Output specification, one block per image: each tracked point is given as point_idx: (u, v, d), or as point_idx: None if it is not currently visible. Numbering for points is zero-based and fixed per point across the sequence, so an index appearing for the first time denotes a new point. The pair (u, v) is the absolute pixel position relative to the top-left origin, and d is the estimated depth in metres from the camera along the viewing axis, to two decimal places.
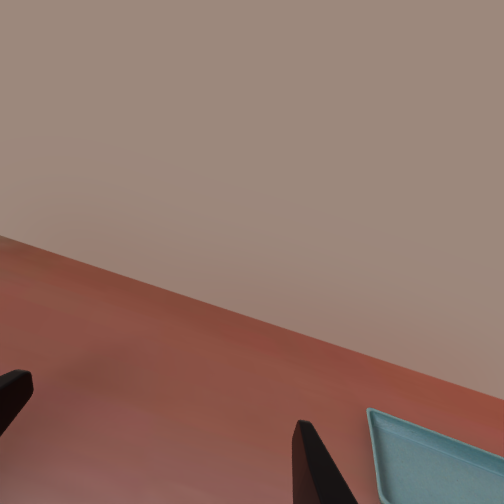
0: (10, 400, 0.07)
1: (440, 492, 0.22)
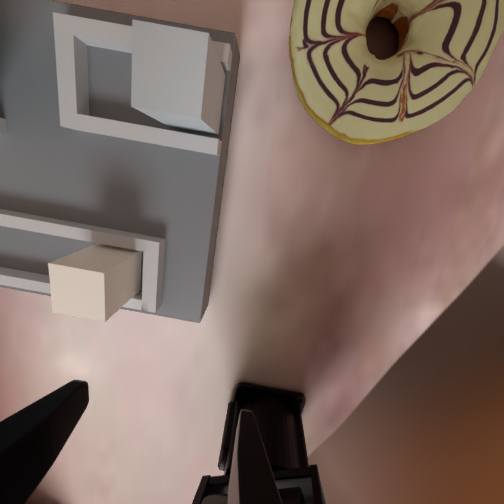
0: (72, 411, 0.07)
1: None
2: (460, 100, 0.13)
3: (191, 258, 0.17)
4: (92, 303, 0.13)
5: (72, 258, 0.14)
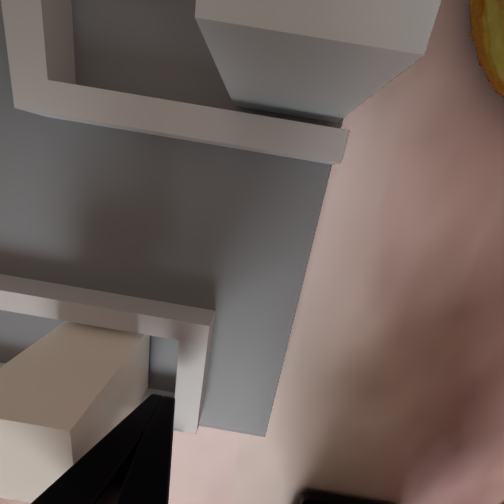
0: None
1: None
2: None
3: (259, 342, 0.09)
4: (49, 481, 0.06)
5: (8, 377, 0.06)
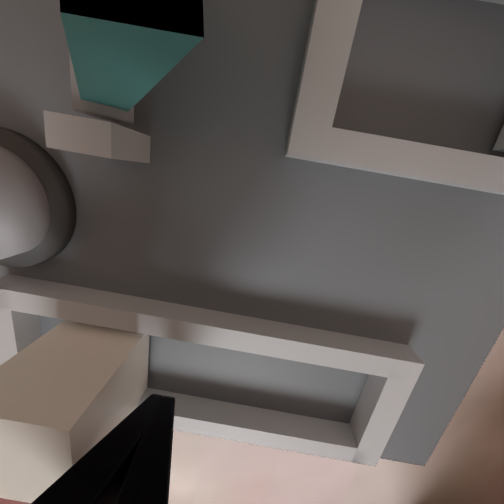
0: None
1: None
2: None
3: (445, 375, 0.09)
4: (47, 481, 0.06)
5: (7, 376, 0.06)
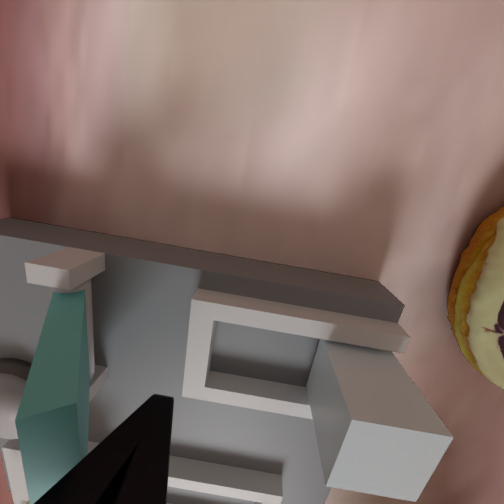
0: None
1: None
2: None
3: (309, 492, 0.14)
4: None
5: None
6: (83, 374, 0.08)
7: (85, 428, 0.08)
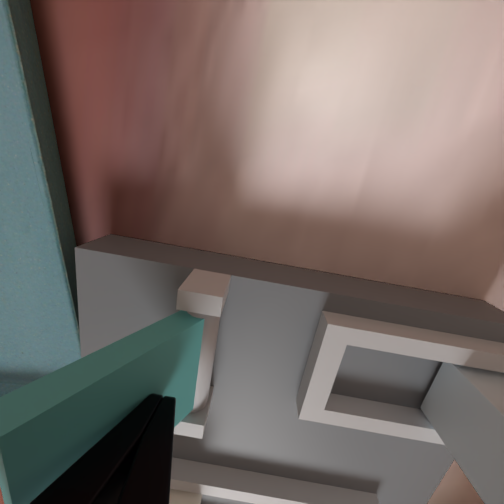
0: None
1: (33, 315, 0.14)
2: None
3: None
4: None
5: None
6: (121, 405, 0.07)
7: None
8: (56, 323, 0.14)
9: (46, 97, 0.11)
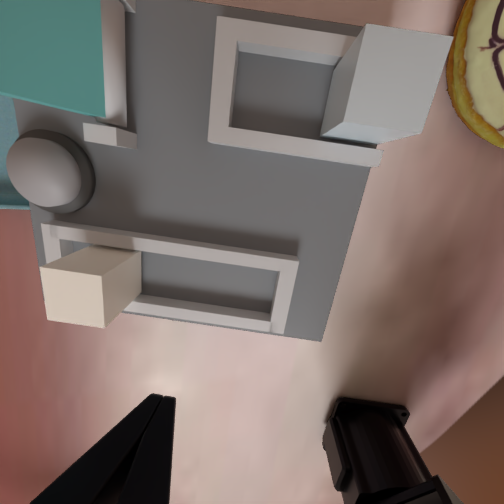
0: None
1: None
2: None
3: (322, 275, 0.16)
4: (90, 309, 0.12)
5: (66, 261, 0.12)
6: None
7: None
8: (1, 117, 0.16)
9: None
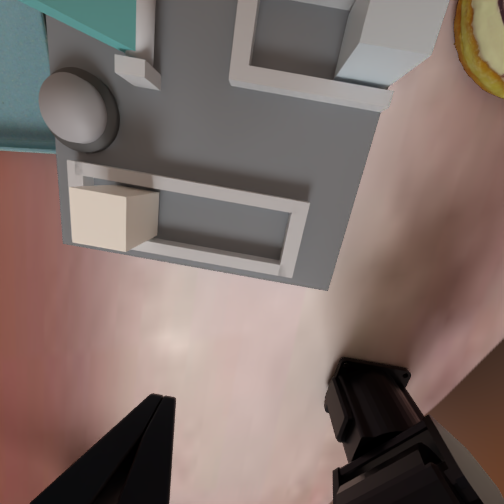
0: None
1: (11, 57, 0.17)
2: None
3: (330, 222, 0.16)
4: (113, 231, 0.13)
5: (91, 187, 0.13)
6: None
7: None
8: (31, 65, 0.17)
9: None
